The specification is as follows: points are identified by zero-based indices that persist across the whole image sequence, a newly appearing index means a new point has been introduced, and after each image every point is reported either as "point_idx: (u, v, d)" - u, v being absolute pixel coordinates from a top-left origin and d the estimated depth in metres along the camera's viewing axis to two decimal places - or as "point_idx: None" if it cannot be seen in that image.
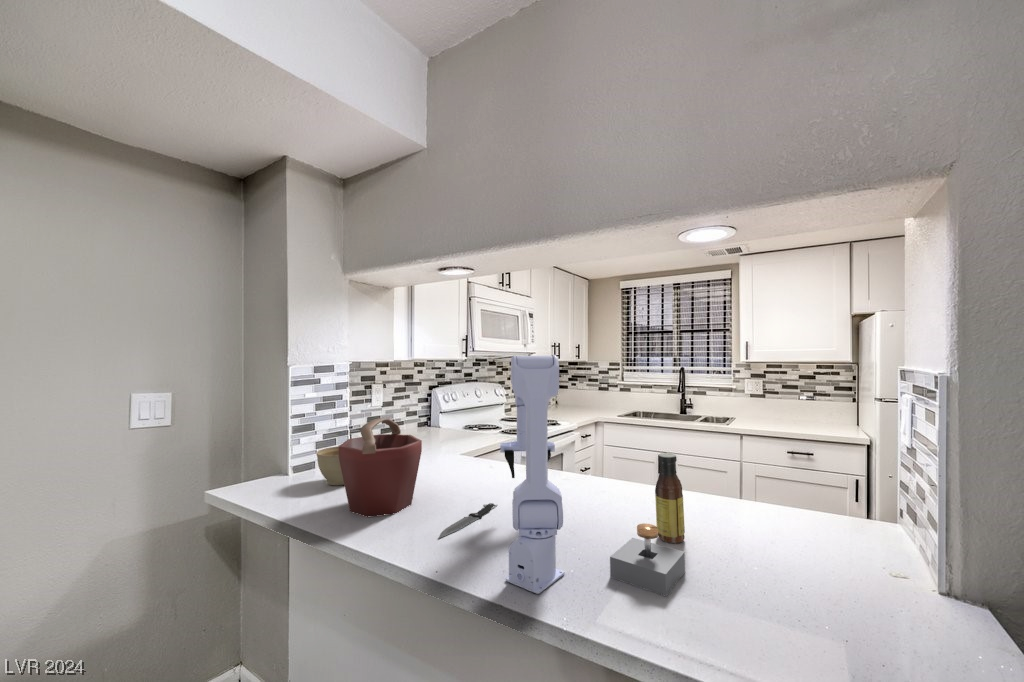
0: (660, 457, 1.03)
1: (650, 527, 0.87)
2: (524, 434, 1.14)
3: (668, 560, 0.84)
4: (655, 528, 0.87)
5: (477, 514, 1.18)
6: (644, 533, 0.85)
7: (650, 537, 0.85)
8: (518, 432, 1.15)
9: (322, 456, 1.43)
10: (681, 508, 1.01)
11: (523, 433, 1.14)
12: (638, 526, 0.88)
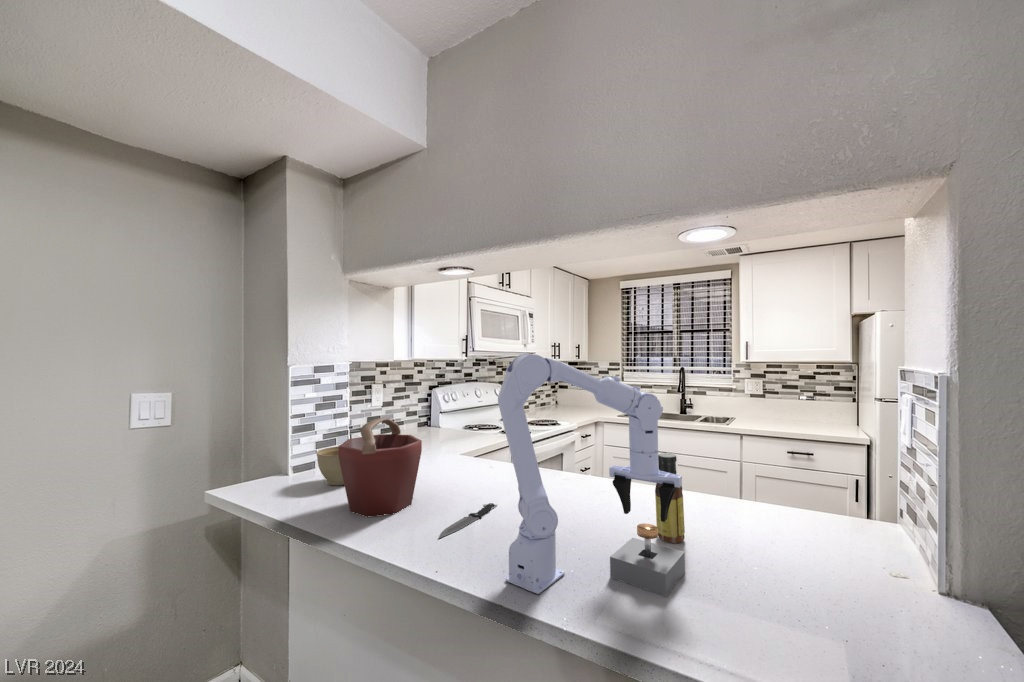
0: (660, 457, 1.03)
1: (650, 527, 0.87)
2: (634, 455, 0.89)
3: (668, 560, 0.84)
4: (655, 528, 0.87)
5: (477, 514, 1.18)
6: (644, 533, 0.85)
7: (650, 537, 0.85)
8: None
9: (322, 456, 1.43)
10: (681, 508, 1.01)
11: (633, 454, 0.89)
12: (638, 526, 0.88)
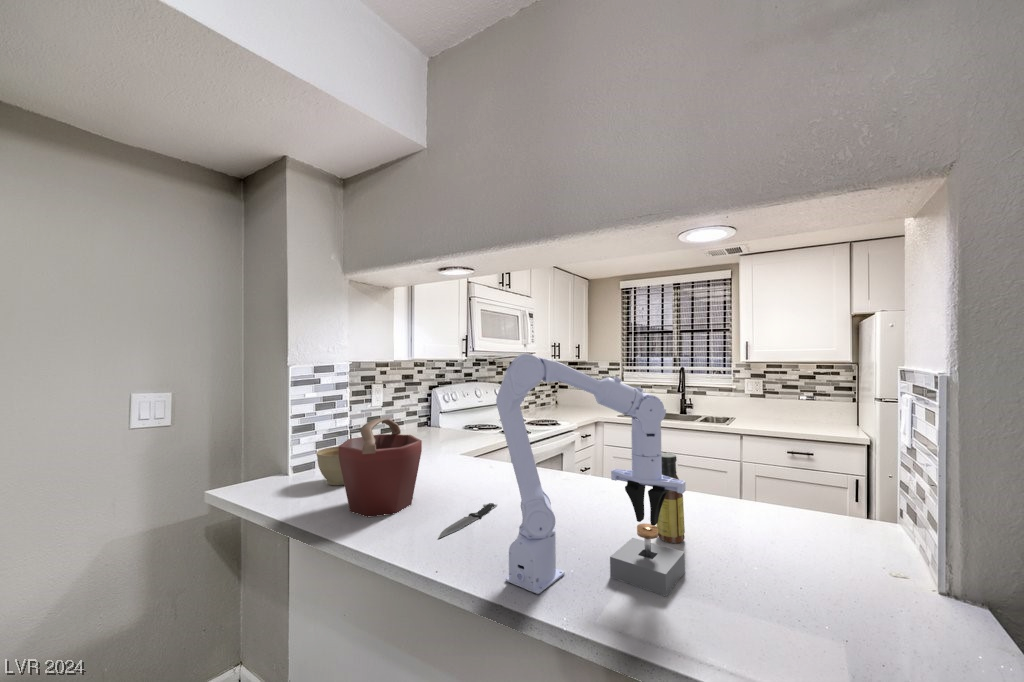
0: None
1: (650, 527, 0.87)
2: (636, 459, 0.86)
3: (668, 560, 0.84)
4: (655, 528, 0.87)
5: (477, 514, 1.18)
6: (644, 533, 0.85)
7: (650, 537, 0.85)
8: (632, 456, 0.88)
9: (322, 456, 1.43)
10: (681, 508, 1.01)
11: (635, 457, 0.86)
12: (638, 526, 0.88)
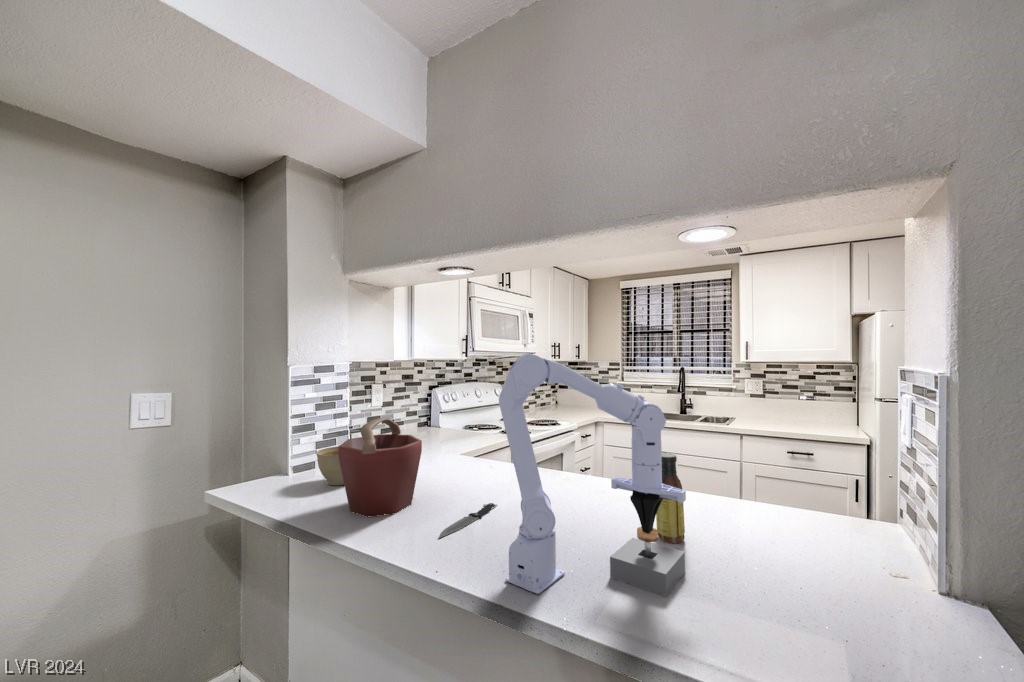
0: None
1: None
2: (636, 467, 0.86)
3: (668, 560, 0.84)
4: (655, 531, 0.87)
5: (477, 514, 1.18)
6: (644, 536, 0.85)
7: (650, 540, 0.85)
8: (632, 464, 0.88)
9: (322, 456, 1.43)
10: (681, 508, 1.01)
11: (635, 466, 0.86)
12: (638, 529, 0.88)
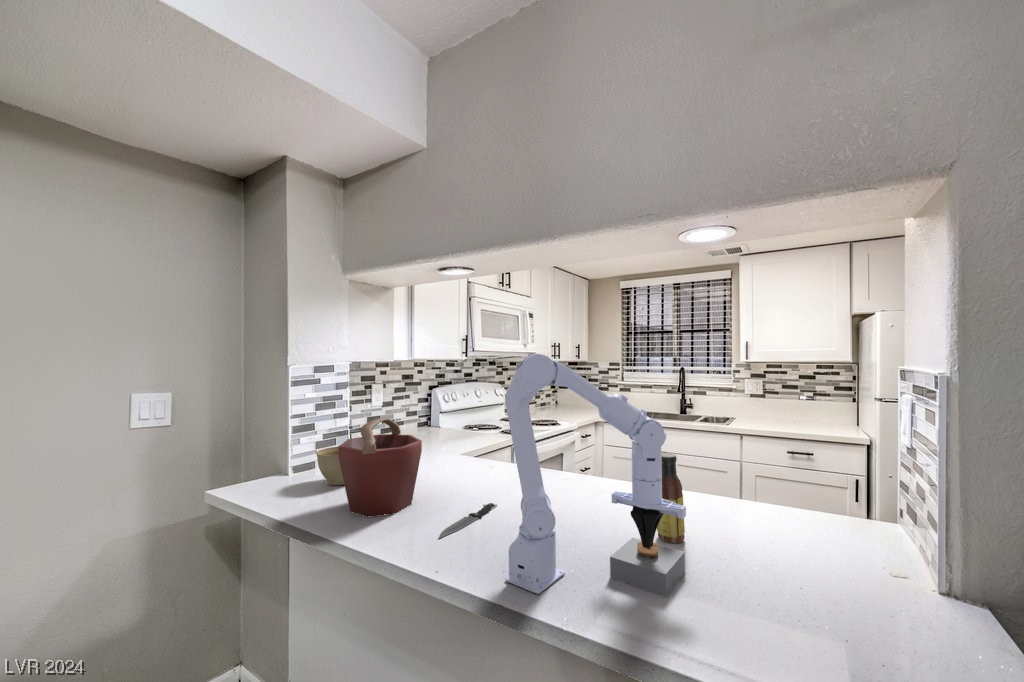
0: None
1: None
2: (637, 483, 0.86)
3: (668, 560, 0.84)
4: (655, 546, 0.87)
5: (477, 514, 1.18)
6: (644, 551, 0.85)
7: (650, 556, 0.85)
8: (632, 480, 0.88)
9: (322, 456, 1.43)
10: None
11: (635, 481, 0.86)
12: (638, 544, 0.88)
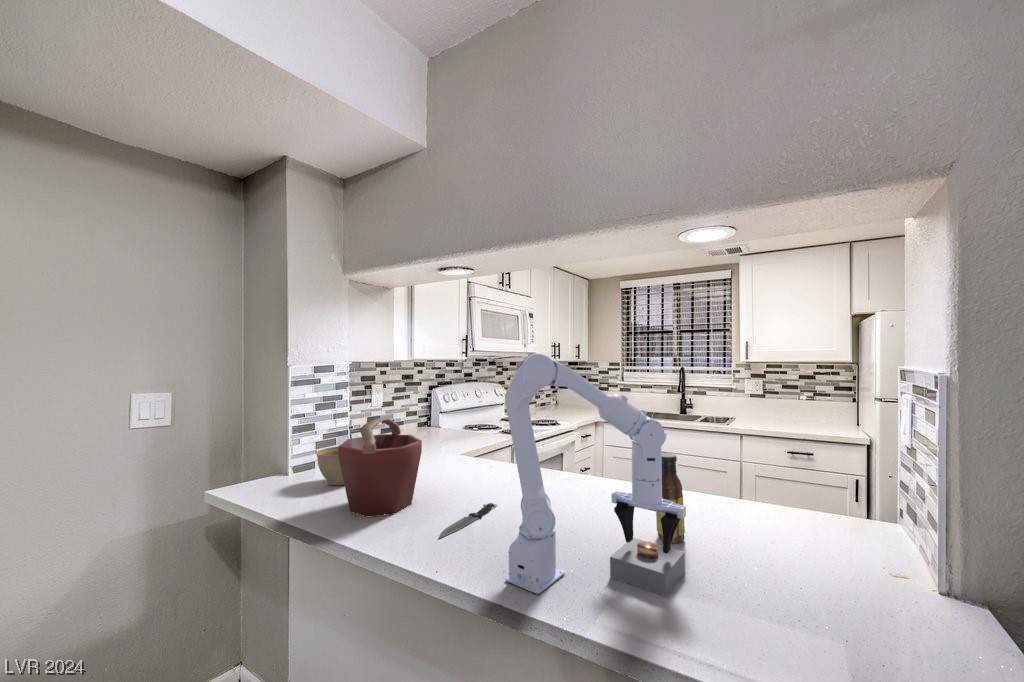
0: None
1: (650, 545, 0.87)
2: (636, 483, 0.86)
3: (668, 560, 0.84)
4: (655, 546, 0.87)
5: (477, 514, 1.18)
6: (644, 552, 0.85)
7: (650, 556, 0.85)
8: (632, 479, 0.88)
9: (322, 456, 1.43)
10: None
11: (635, 481, 0.86)
12: (638, 544, 0.88)
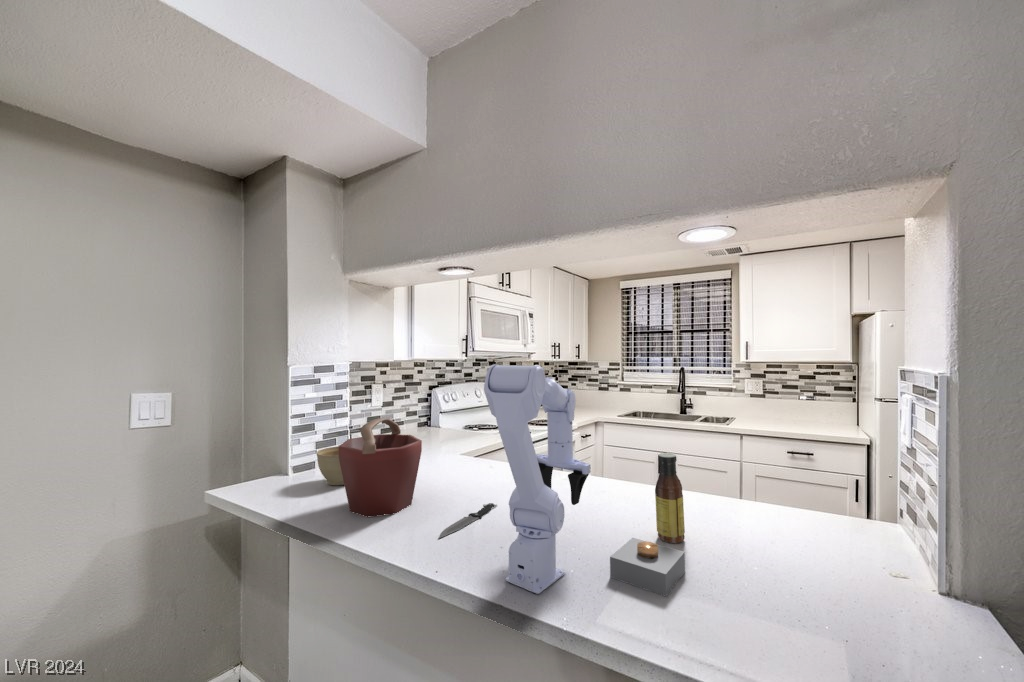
0: (660, 457, 1.03)
1: (650, 545, 0.87)
2: (550, 445, 0.99)
3: (668, 560, 0.84)
4: (655, 546, 0.87)
5: (477, 514, 1.18)
6: (644, 552, 0.85)
7: (650, 556, 0.85)
8: None
9: (322, 456, 1.43)
10: (681, 508, 1.01)
11: (549, 444, 0.99)
12: (638, 544, 0.88)
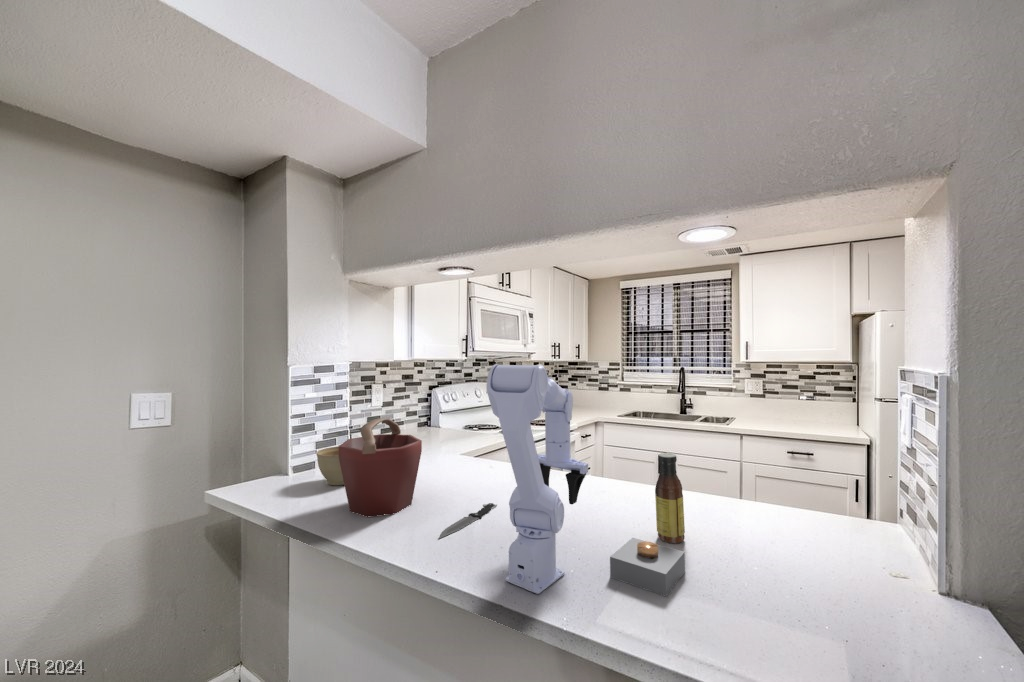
0: (660, 457, 1.03)
1: (650, 545, 0.87)
2: (548, 445, 0.99)
3: (668, 560, 0.84)
4: (655, 546, 0.87)
5: (477, 514, 1.18)
6: (644, 552, 0.85)
7: (650, 556, 0.85)
8: (545, 442, 1.01)
9: (322, 456, 1.43)
10: (681, 508, 1.01)
11: (547, 443, 0.99)
12: (638, 544, 0.88)
